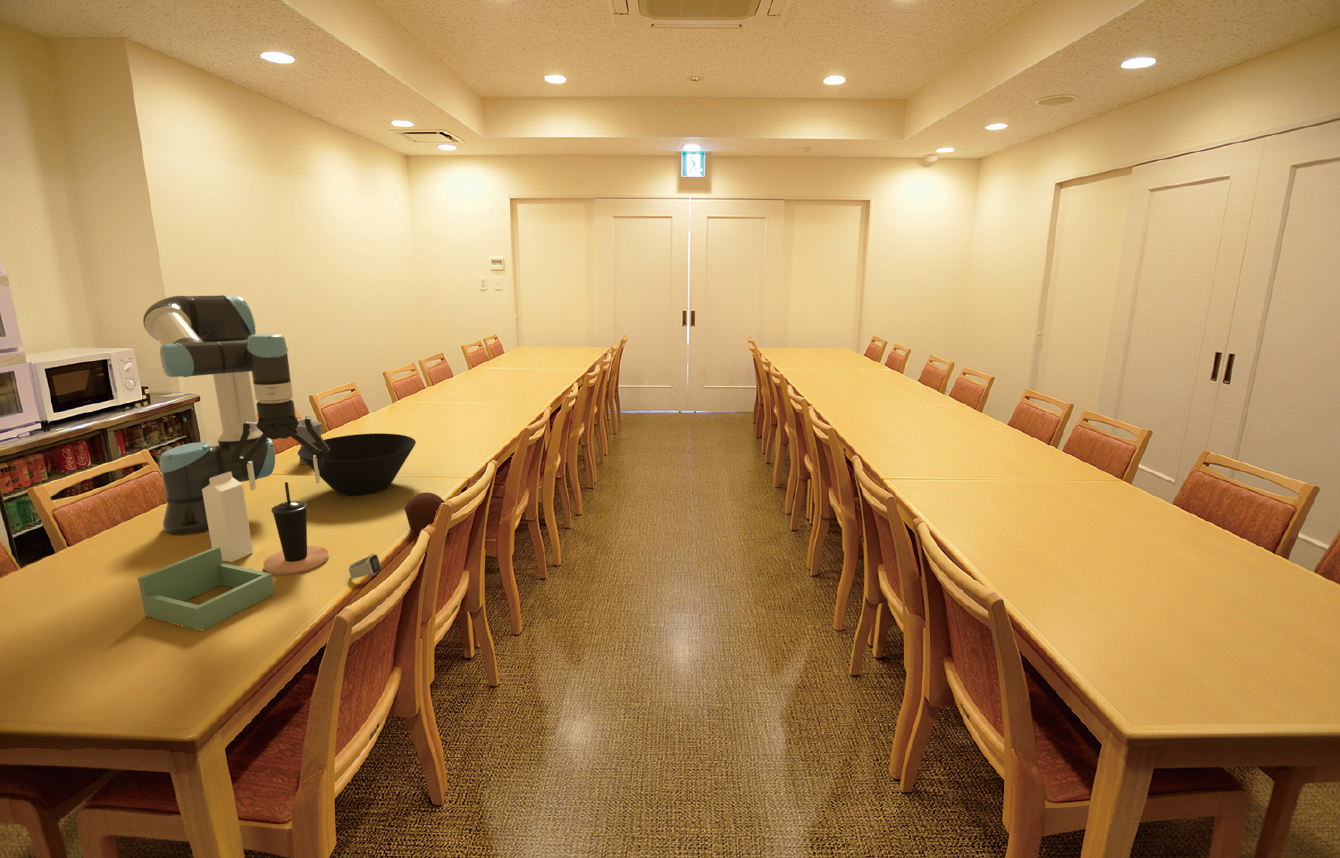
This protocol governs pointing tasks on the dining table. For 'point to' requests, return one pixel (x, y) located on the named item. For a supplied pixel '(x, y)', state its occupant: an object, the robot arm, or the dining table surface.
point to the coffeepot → (308, 435)
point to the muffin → (422, 510)
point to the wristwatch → (365, 566)
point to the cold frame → (201, 590)
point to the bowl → (361, 461)
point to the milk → (227, 517)
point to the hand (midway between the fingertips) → (286, 485)
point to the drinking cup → (292, 528)
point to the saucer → (282, 567)
